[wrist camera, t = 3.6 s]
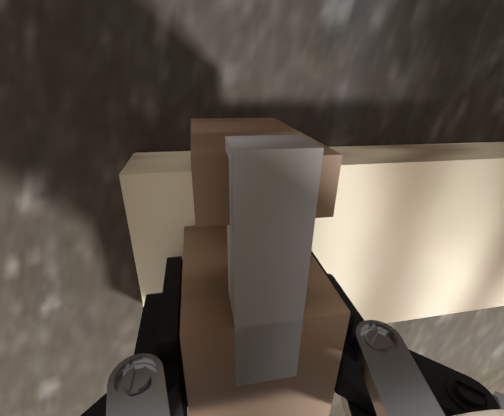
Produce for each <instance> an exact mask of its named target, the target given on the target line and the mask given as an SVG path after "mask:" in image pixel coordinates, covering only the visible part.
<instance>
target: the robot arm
mask: <svg viewBox="0 0 504 416" xmlns="http://www.w3.org/2000/svg"><path fill="white" fill-rule="evenodd" d="M311 253H312V255H313V256H314V258H315V259H316V261H317V262H318V264H319V265H320V267H321V268H322V270H323V271H324V273H325V274H326V276H327V277H328V279H329V280H330V282H331V283H332V285H333V286H334V288H335V289H336V291H337V292H338V294H339V295H340V297H341V298H342V300H343V301H344V303H345V304H346V306H347V307H348V309H349V310H350V312H351V314H350V318H349V323H348V328H347V333H346V337H345V342H344V347H343V352H342V356H341V361H340V366H339V371H338V375H337V380H336V385H335V392H336V393H337V394H339V395H340V396H341V399H342V404H343V407H344V411H345V415H346V416H504V394H502V393H499V392H496V391H495V393H494V395H492V394H491V393H490V392H489V391H488V390H487V389H486V388H485V387H484V386H483V385H481V384H480V383H479V382H477V381H476V380H474V379H472V378H470V377H468V376H466V375H464V374H462V373H460V372H457V371H455V370H453V369H451V368H448V367H446V366H444V365H442V364H440V363H437V362H435V361H433V360H431V359H428V358H426V357H424V356H422V355H420V354H417V353H415V352H413V351H411V350H408V348H407V346H406V344H405V343H404V341H403V339H402V337H401V336H400V335H399V333H398V332H397V331H396V330H395V329H393V328H392V327H391V326H389V325H387V324H386V323H383V322H380V321H376V320H365V321H364V319H363V318H362V316H361V315H360V313H359V312H358V311H357V309H356V308H355V306H354V305H353V303H352V302H351V301H350V299H349V298H348V296H347V295H346V293H345V292H344V291H343V289H342V288H341V286H340V285H339V283H338V282H337V281H336V279H335V278H334V276H333V275H332V274H327V272H326V271H325V269H324V268H323V266H322V265H321V264H320V262H319V261H318V259H317V258H316V256H315V255H314V253H313V252H312V250H311ZM182 267H183V260H182V256H178V257H168V258H167V261H166V269H165V276H164V284H163V292H162V293H154V294H147V295H146V298H145V303H144V308H143V313H142V318H141V323H140V328H139V333H138V338H137V343H136V348H135V353H134V355H133V356H130V357H128V358H126V359H125V360H123V361H122V362H120V363H119V364H118V365H117V366H116V367H115V368H114V370H113V371H112V373H111V375H110V377H109V380H108V384H107V393H106V394H105V395H104V396H103V397H101V398H100V399H99V400H98V401H97V402H96V403H95V404H93V405H92V406H91V407H90V408H89V409H88V410H87V411H85V412H84V413H83V414H82V415H81V416H187V406H188V400H187V392H186V384H185V376H184V368H183V360H182V352H181V344H180V314H181V290H182Z"/></svg>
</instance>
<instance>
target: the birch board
mask: <svg viewBox="0 0 504 416" xmlns="http://www.w3.org/2000/svg"><path fill="white" fill-rule="evenodd" d="M329 148H331V149H333V150H335V151H337V152H339V153H340V154H342V161H341V168H340V175H339V181H338V188H337V195H336V201H335V208H334V215H333V217H324V218H315V225H314V234H313V242H312V252H313V253H314V255H315V256H316V258H317V259H318V261H319V262H320V264H321V265H322V266H323V268H324V269H325V271H326V272H327V274H332V275H333V276H334V278H335V279H336V281H337V282H338V283H339V285H340V286H341V288H342V289H343V291H344V292H345V293H346V295H347V296H348V298H349V299H350V301H351V302H352V303H353V305H354V306H355V308H356V309H357V311H358V312H359V313H360V315H361V316H362V318H363V319H364V321H365V320H376V321H380V322H383V323H391V322H398V321H405V320H411V319H418V318H425V317H431V316H438V315H445V314H451V313H458V312H464V311H471V310H478V309H484V308H491V307H498V306H504V142H475V143H442V144H408V145H374V146H340V147H329ZM119 179H120V184H121V189H122V195H123V200H124V205H125V211H126V216H127V221H128V227H129V232H130V238H131V243H132V248H133V254H134V259H135V264H136V270H137V275H138V281H139V286H140V291H141V297H142V302H143V307H144V303H145V298H146V295H147V294H154V293H162V292H163V284H164V276H165V269H166V261H167V258H168V257H178V256H182V260H183V244H184V226H196V225H195V212H194V199H193V185H192V172H191V151H172V152H138V153H134V154H133V155H132V156H131V158H130V159H129V161H128V162H127V164H126V165H125V166H124V168H123V169H122V171H121V172H120V173H119Z"/></svg>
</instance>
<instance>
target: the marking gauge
mask: <svg viewBox="0 0 504 416" xmlns="http://www.w3.org/2000/svg"><path fill="white" fill-rule="evenodd" d="M341 161H342V154H340V153H339V152H337V151H335V150H333V149H331V148H329V147H327V146H326V145H324V144H322V143H320V142H318V141H316V140H314V139H313V138H311V137H309V136H307V135H305V134H303V133H302V132H300V131H298V130H296V129H294V128H292V127H290V126H289V125H287V124H285V123H283V122H281V121H279V120H277V119H276V118H191V172H192V185H193V199H194V212H195V225H196V226H184V244H183V267H182V290H181V314H180V344H181V352H182V360H183V368H184V376H185V384H186V392H187V400H188V408H189V416H329V413H330V409H331V404H332V399H333V394H334V390H335V385H336V380H337V375H338V371H339V366H340V361H341V356H342V352H343V347H344V342H345V337H346V333H347V328H348V323H349V318H350V314H351V312H350V310H349V309H348V307H347V306H346V304H345V303H344V301H343V300H342V298H341V297H340V295H339V294H338V292H337V291H336V289H335V288H334V286H333V285H332V283H331V282H330V280H329V279H328V277H327V276H326V274H325V273H324V271H323V270H322V268H321V267H320V265H319V264H318V262H317V261H316V259H315V258H314V256H313V255H312V253H311V250H312V242H313V234H314V225H315V218H324V217H333V215H334V208H335V201H336V195H337V188H338V181H339V175H340V168H341Z"/></svg>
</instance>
